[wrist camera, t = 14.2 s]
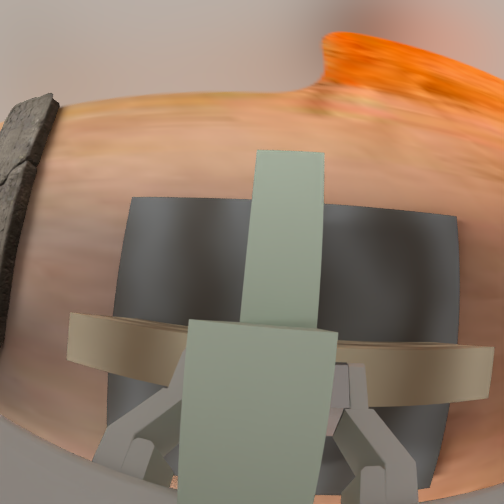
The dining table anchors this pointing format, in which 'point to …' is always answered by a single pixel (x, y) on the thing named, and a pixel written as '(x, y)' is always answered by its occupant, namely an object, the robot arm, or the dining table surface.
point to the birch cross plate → (329, 318)
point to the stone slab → (19, 180)
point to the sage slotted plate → (264, 356)
